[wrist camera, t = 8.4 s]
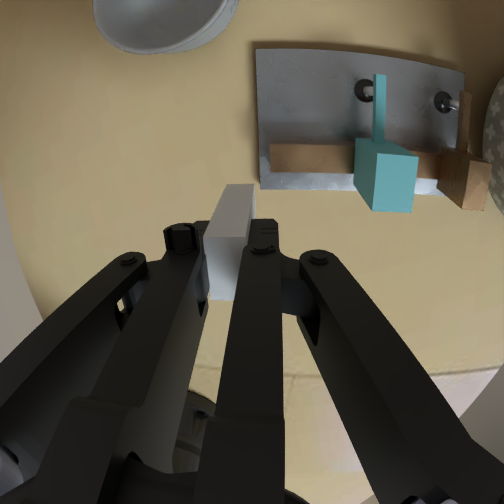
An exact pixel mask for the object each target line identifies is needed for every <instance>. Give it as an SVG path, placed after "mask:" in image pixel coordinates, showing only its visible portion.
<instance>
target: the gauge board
mask: <svg viewBox="0 0 504 504" xmlns="http://www.w3.org/2000/svg"><path fill="white" fill-rule="evenodd" d="M255 50H256V75H257V101H258V129H259V159H260V190H263V189H298V190H348V191H358V190H357V189H356V188H355V186H354V185H353V177H354V161H355V141H356V138H368V139H372V118H373V96H369V95H365V94H364V92H363V89H364V87H367V86H368V87H373V74H380V75H386V113H385V134H384V140H390V141H392V142H394V143H396V144H397V145H399V146H401V147H403V148H404V149H406V150H408V151H409V152H411V153H413V154H415V155H416V156H418V157H419V159H418V168H417V176H416V184H415V191H414V194H427V195H440V196H447V197H448V198H449V199H450V200H452V201H453V202H454V203H455V204H457V205H458V206H459V207H460V208H461V209H467V210H480V211H484V207H485V202H486V197H487V192H488V187H489V182H490V176H491V170H492V164H491V163H489V162H487V161H485V160H483V159H481V158H479V157H477V156H475V155H473V154H471V153H469V152H467V147H468V138H469V127H470V114H471V94H472V92H468V91H464V88H465V73H462V72H459V71H455V70H451V69H447V68H443V67H439V66H435V65H430V64H426V63H421V62H416V61H411V60H405V59H400V58H394V57H387V56H380V55H373V54H365V53H356V52H346V51H334V50H317V49H255Z"/></svg>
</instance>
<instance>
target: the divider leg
mask: <svg viewBox="0 0 504 504" xmlns="http://www.w3.org/2000/svg"><path fill="white" fill-rule="evenodd" d="M363 92H364V94H365V95H369V96H373V118H372V139H368V138H356V141H355V161H354V177H353V185H354V186H355V188H356V189H357V190H358V192H359V193H360V195H361V196H362V197H363V199H364V200H365V202H366V203H367V205H368V206H369V208H370V209H371V211H381V212H407V213H411V211H412V204H413V198H414V191H415V184H416V176H417V168H418V159H419V157H418V156H416V155H415V154H413V153H411V152H409V151H408V150H406V149H404V148H403V147H401V146H399V145H397V144H396V143H394V142H392V141H390V140H384V134H385V113H386V75H380V74H373V87H368V86H367V87H364V89H363Z"/></svg>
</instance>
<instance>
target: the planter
mask: <svg viewBox="0 0 504 504" xmlns="http://www.w3.org/2000/svg"><path fill="white" fill-rule="evenodd" d="M483 160H485V161H487V162H489V163H491V164H492V170H491V176H490V182H489V187H488V188H489V191H490V193H491V196H492V198H493V200H494V202H495V204H496V205H497V207H498V209H499V210H500V211H501V213H502V214H503V215H504V76H503V77H502V78H501V80H500V81H499V83H498V84H497V86H496V88H495V90H494V92H493V94H492V97H491V99H490V102H489V106H488V109H487V113H486V118H485V123H484V131H483Z"/></svg>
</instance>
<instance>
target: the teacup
mask: <svg viewBox="0 0 504 504" xmlns="http://www.w3.org/2000/svg"><path fill="white" fill-rule="evenodd" d="M238 2H239V0H93V15H94V20H95V23H96V25H97V28H98V30H99V32H100V33H101V35H102V36H103V37H104V38H105V39H106V40H107V41H108V42H109V43H110V44H112V45H113V46H115V47H117V48H118V49H120V50H123V51H125V52H129V53H133V54H157V53H179V52H185V51H189V50H192V49H195V48H198V47H200V46H202V45H204V44H206V43H208V42H210V41H211V40H213V39H214V38H215V37H217V36H218V35H219V34H220V33H221V32H222V31H223V30H224V29H225V28H226V27H227V26H228V24H229V23H230V21H231V20H232V18H233V16H234V14H235V12H236V9H237V6H238Z"/></svg>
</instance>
